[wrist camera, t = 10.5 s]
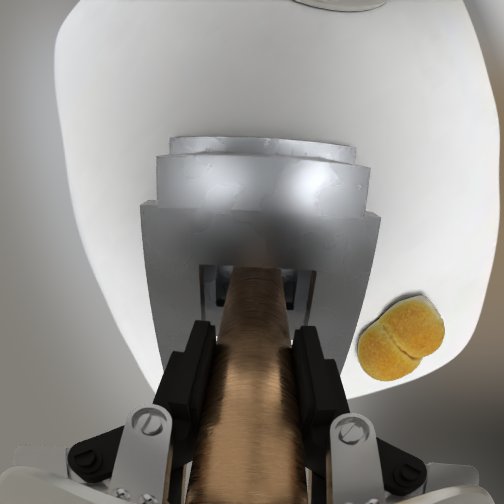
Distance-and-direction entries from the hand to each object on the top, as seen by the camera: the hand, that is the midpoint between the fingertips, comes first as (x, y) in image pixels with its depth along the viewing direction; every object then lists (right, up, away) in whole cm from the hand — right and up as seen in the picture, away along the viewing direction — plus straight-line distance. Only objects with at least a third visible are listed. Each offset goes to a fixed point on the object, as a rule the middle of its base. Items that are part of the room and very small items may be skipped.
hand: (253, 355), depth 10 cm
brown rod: (0, +3, +8) cm, 8 cm away
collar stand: (0, +5, +9) cm, 11 cm away
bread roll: (+14, -4, +13) cm, 19 cm away
